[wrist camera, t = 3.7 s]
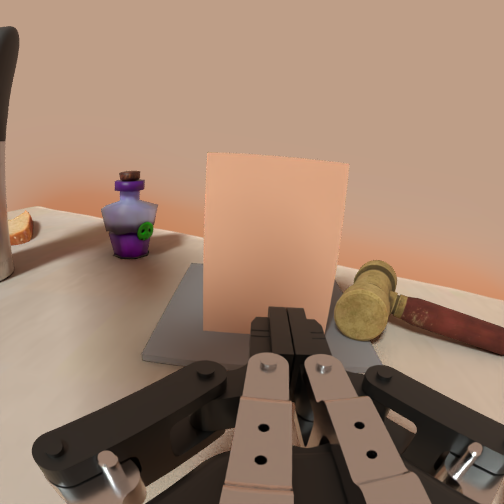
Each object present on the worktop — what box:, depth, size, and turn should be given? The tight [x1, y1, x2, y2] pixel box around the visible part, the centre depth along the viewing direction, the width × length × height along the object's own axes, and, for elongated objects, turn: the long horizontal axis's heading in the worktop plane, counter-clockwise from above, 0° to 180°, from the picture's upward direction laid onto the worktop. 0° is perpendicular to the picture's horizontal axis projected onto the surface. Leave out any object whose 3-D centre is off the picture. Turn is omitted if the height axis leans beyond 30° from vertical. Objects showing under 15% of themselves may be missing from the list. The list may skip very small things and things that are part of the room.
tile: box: [203, 152, 349, 334], centre depth 24 cm, size 10×2×14 cm, turn 89°
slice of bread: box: [8, 210, 33, 245], centre depth 51 cm, size 18×18×4 cm
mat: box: [142, 263, 382, 373], centre depth 31 cm, size 18×20×1 cm
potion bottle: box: [101, 171, 158, 259], centre depth 42 cm, size 9×9×12 cm
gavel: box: [334, 260, 504, 355], centre depth 25 cm, size 21×5×10 cm
